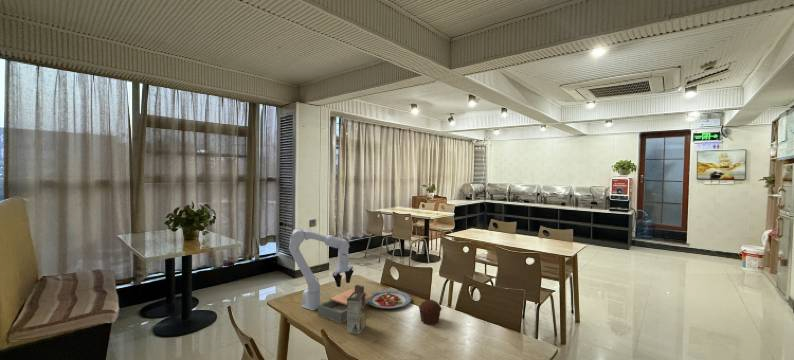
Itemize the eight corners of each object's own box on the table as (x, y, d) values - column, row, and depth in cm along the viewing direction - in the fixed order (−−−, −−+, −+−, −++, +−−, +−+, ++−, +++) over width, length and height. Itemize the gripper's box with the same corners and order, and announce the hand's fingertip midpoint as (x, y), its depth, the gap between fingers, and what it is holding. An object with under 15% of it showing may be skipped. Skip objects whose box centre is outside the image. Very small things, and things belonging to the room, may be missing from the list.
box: (318, 315, 172) (318, 305, 172) (339, 304, 186) (339, 295, 185) (341, 323, 164) (341, 313, 163) (361, 311, 177) (361, 302, 177)
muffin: (417, 316, 172) (417, 297, 172) (438, 315, 173) (438, 296, 173) (421, 327, 160) (421, 306, 160) (443, 326, 161) (443, 305, 161)
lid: (329, 299, 180) (329, 291, 179) (350, 290, 193) (350, 282, 193) (353, 307, 170) (353, 297, 170) (373, 296, 184) (373, 288, 184)
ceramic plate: (356, 301, 191) (356, 296, 191) (390, 290, 209) (390, 285, 209) (385, 316, 172) (386, 310, 172) (420, 302, 190) (420, 297, 190)
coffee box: (353, 323, 163) (353, 291, 162) (365, 325, 162) (366, 292, 161) (346, 333, 154) (346, 298, 154) (360, 334, 153) (360, 300, 152)
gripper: (339, 265, 179) (339, 290, 179) (357, 259, 191) (357, 282, 192) (330, 263, 183) (330, 287, 183) (347, 257, 195) (347, 280, 195)
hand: (343, 284), depth 188 cm, fingers open, 7 cm apart
